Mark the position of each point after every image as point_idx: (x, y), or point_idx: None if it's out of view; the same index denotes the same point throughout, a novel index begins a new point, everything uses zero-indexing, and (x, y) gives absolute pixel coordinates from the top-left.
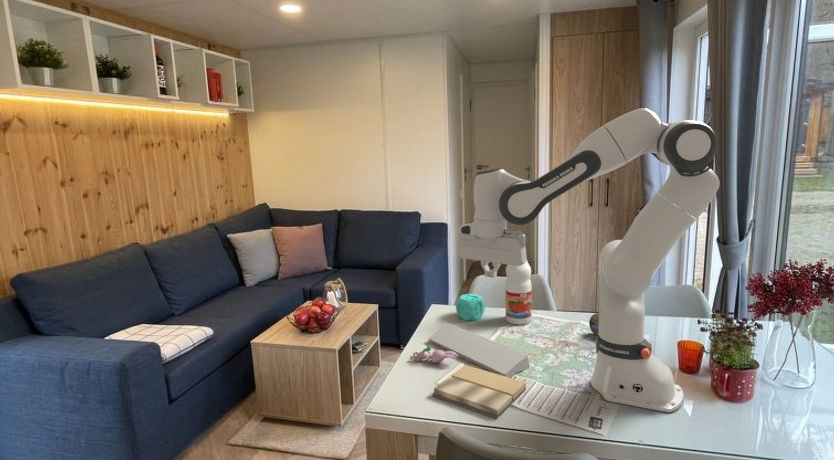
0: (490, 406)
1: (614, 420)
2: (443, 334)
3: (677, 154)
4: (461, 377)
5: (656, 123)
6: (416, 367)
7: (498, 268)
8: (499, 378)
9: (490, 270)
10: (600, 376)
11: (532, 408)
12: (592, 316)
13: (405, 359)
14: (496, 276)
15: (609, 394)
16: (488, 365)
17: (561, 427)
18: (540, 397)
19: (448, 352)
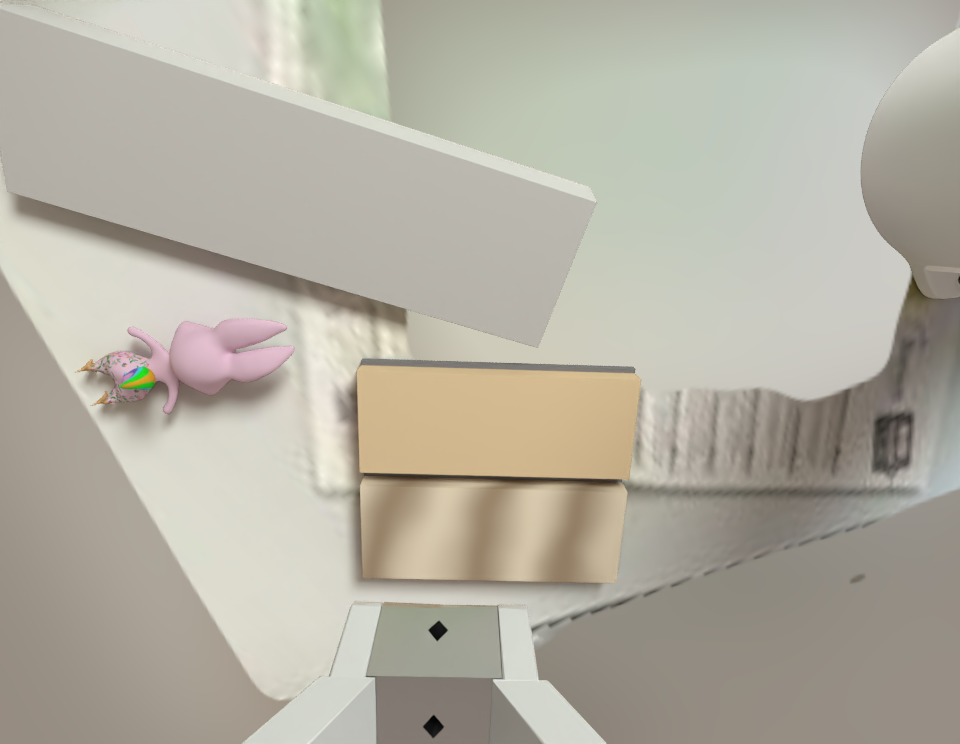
0: (587, 578)
1: (950, 402)
2: (53, 136)
3: None
4: (403, 469)
5: None
6: (174, 433)
7: (583, 720)
8: (537, 403)
9: (421, 716)
10: (955, 244)
11: (690, 468)
12: None
13: (82, 399)
14: (526, 611)
15: (949, 277)
16: (441, 313)
17: (797, 516)
18: (697, 393)
19: (236, 341)
